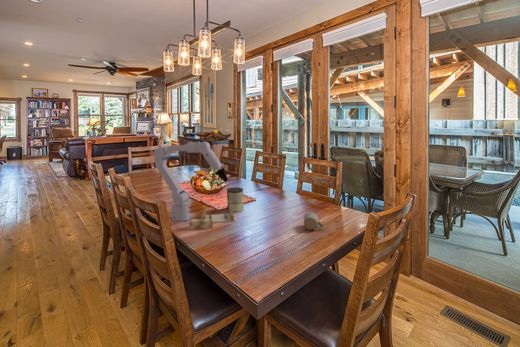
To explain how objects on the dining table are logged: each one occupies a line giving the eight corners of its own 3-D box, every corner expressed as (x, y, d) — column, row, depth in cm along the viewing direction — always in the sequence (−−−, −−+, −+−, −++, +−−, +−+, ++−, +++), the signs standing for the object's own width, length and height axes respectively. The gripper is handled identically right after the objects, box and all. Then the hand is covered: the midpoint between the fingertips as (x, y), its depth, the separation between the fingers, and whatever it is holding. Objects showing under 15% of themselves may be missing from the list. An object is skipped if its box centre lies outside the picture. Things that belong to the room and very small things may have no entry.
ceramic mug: (303, 230, 154) (304, 216, 153) (304, 224, 162) (304, 211, 161) (323, 232, 153) (324, 218, 151) (323, 226, 160) (324, 213, 159)
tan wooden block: (189, 230, 156) (189, 222, 155) (190, 227, 159) (190, 219, 159) (212, 229, 157) (212, 221, 156) (212, 226, 161) (212, 218, 160)
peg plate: (200, 223, 165) (200, 217, 165) (201, 216, 177) (201, 210, 176) (235, 221, 168) (235, 215, 167) (234, 214, 180) (234, 209, 179)
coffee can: (224, 210, 189) (223, 189, 187) (237, 207, 196) (236, 186, 193) (233, 213, 181) (232, 192, 179) (246, 210, 188) (246, 189, 185)
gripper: (218, 156, 156) (232, 177, 157) (219, 157, 171) (232, 176, 172) (207, 163, 156) (221, 184, 157) (209, 163, 170) (222, 183, 171)
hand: (226, 180), depth 164 cm, fingers open, 7 cm apart
